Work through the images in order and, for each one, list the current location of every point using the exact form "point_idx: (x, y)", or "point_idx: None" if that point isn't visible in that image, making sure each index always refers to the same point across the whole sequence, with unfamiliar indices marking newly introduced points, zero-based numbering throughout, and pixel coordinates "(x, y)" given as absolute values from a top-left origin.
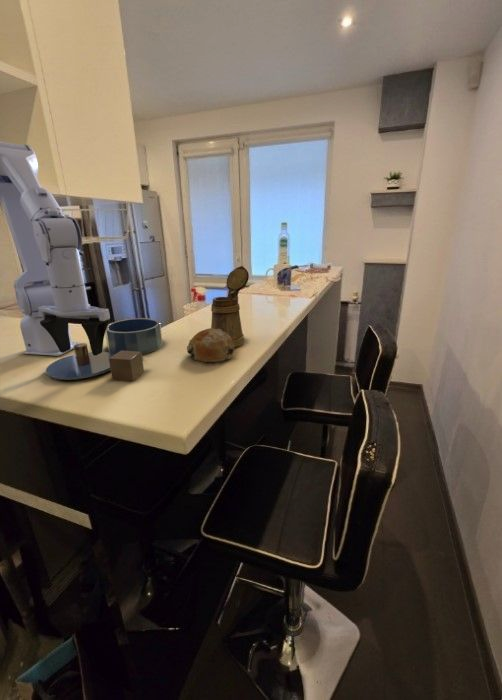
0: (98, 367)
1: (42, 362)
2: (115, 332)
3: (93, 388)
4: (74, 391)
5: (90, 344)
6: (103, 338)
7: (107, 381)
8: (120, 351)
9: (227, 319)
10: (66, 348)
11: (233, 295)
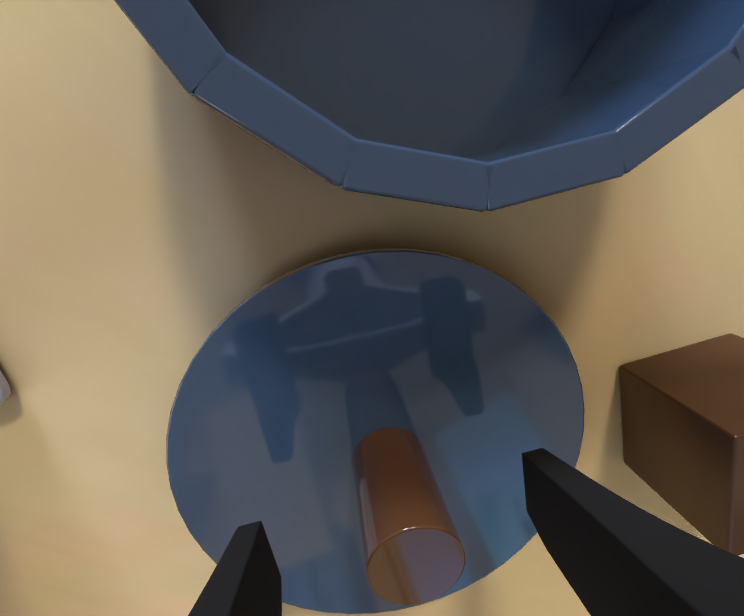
0: (520, 458)
1: (37, 497)
2: (508, 198)
3: None
4: (540, 589)
5: (590, 606)
6: (641, 512)
7: (611, 481)
8: (741, 454)
9: None
10: (268, 565)
11: None
